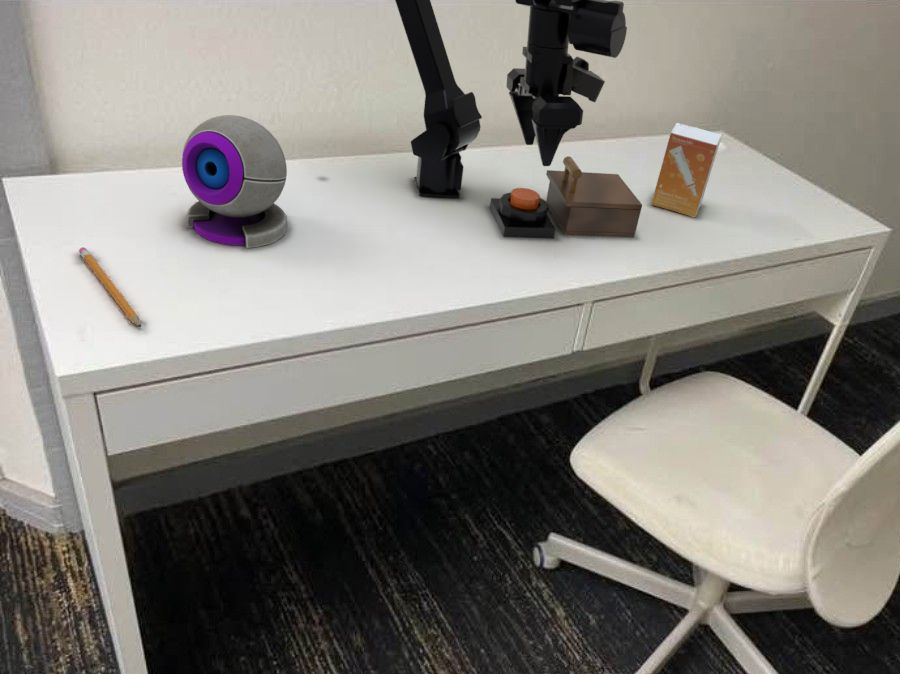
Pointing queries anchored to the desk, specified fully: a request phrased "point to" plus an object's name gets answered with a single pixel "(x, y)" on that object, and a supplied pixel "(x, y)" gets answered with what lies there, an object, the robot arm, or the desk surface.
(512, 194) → the release button
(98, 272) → the pencil
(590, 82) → the robot arm
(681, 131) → the small box
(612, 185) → the lid
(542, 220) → the panel
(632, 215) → the storage box
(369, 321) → the desk surface
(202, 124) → the webcam
